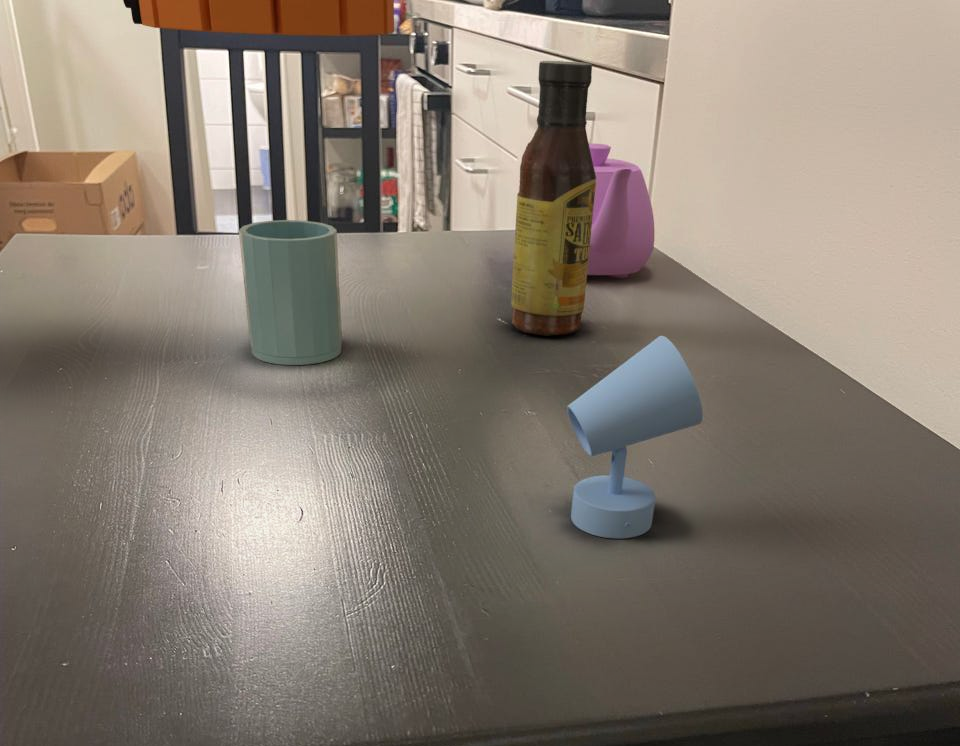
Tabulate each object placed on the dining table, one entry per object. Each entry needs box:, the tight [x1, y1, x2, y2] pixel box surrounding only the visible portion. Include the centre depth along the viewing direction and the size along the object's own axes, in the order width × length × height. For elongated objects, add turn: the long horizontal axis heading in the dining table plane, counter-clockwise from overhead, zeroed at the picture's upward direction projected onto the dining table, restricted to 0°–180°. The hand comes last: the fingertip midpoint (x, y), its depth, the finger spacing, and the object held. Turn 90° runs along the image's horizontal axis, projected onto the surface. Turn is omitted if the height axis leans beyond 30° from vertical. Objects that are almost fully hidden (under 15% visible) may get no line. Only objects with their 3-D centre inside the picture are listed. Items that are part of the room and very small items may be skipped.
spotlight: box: [566, 335, 704, 539], centre depth 51 cm, size 5×10×7 cm
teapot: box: [587, 143, 655, 279], centre depth 98 cm, size 20×13×12 cm, turn 10°
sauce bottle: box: [510, 60, 596, 337], centre depth 78 cm, size 7×6×20 cm
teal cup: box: [238, 219, 343, 366], centre depth 74 cm, size 7×7×9 cm
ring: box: [139, 0, 395, 37], centre depth 61 cm, size 15×15×3 cm
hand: (169, 21), depth 62 cm, fingers closed on ring, 2 cm apart
